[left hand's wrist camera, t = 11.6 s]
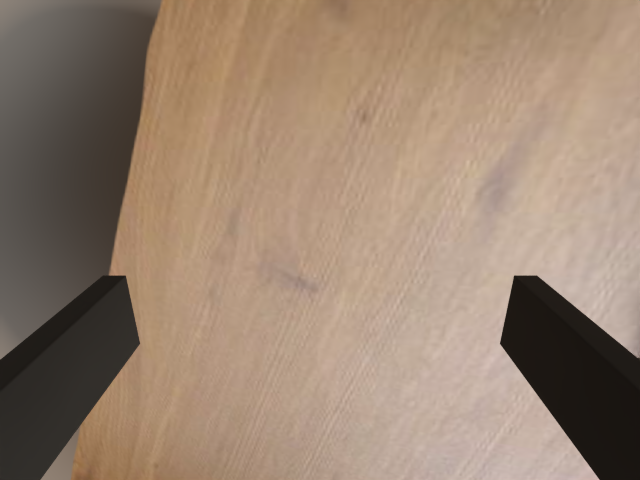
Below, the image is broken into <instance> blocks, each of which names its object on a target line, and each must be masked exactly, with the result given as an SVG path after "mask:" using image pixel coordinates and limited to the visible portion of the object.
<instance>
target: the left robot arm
mask: <svg viewBox="0 0 640 480" xmlns="http://www.w3.org/2000/svg"><path fill="white" fill-rule="evenodd" d="M139 344H140V341H139V337H138V332H137V327H136V322H135V318H134V313H133V308H132V303H131V298H130V294H129V289H128V284H127V279H126V276H102V277H101V278H100V279H98V280H97V281H96V282H95V283H94V284H92V285H91V286H90V287H89V288H87V289H86V290H85V291H84V292H83V293H81V294H80V295H79V296H78V297H76V298H75V299H74V300H73V301H72V302H70V303H69V304H68V305H67V306H66V307H64V308H63V309H62V310H61V311H59V312H58V313H57V314H56V315H55V316H53V317H52V318H51V319H50V320H48V321H47V322H46V323H45V324H44V325H42V326H41V327H40V328H39V329H37V330H36V331H35V332H34V333H33V334H31V335H30V336H29V337H28V338H26V339H25V340H24V341H23V342H22V343H20V344H19V345H18V346H17V347H15V348H14V349H13V350H12V351H11V352H9V353H8V354H7V355H6V356H5V357H3V358H2V359H1V360H0V480H40V479H41V478H42V477H43V475H44V474H45V473H46V471H47V470H48V469H49V467H50V466H51V464H52V463H53V462H54V460H55V459H56V458H57V456H58V455H59V454H60V452H61V451H62V449H63V448H64V447H65V445H66V444H67V443H68V441H69V440H70V438H71V437H72V436H73V434H74V433H75V432H76V430H77V429H78V428H79V426H80V425H81V423H82V422H83V421H84V419H85V418H86V417H87V415H88V414H89V413H90V411H91V410H92V408H93V407H94V406H95V404H96V403H97V402H98V400H99V399H100V398H101V396H102V395H103V393H104V392H105V391H106V389H107V388H108V387H109V385H110V384H111V383H112V381H113V380H114V378H115V377H116V376H117V374H118V373H119V372H120V370H121V369H122V368H123V366H124V365H125V363H126V362H127V361H128V359H129V358H130V357H131V355H132V354H133V353H134V351H135V350H136V348H137V347H138V346H139ZM500 344H501V346H502V347H503V348H504V350H505V351H506V353H507V354H508V355H509V357H510V358H511V359H512V361H513V362H514V363H515V365H516V366H517V368H518V369H519V370H520V372H521V373H522V374H523V376H524V377H525V378H526V380H527V381H528V383H529V384H530V385H531V387H532V388H533V389H534V391H535V392H536V393H537V395H538V396H539V398H540V399H541V400H542V402H543V403H544V404H545V406H546V407H547V408H548V410H549V411H550V413H551V414H552V415H553V417H554V418H555V419H556V421H557V422H558V423H559V425H560V426H561V428H562V429H563V430H564V432H565V433H566V434H567V436H568V437H569V439H570V440H571V441H572V443H573V444H574V445H575V447H576V448H577V449H578V451H579V452H580V454H581V455H582V456H583V458H584V459H585V460H586V462H587V463H588V464H589V466H590V467H591V469H592V470H593V471H594V473H595V474H596V475H597V477H598V478H599V479H600V480H640V358H637V357H636V356H634V355H633V354H632V353H631V352H629V351H628V350H627V349H626V348H625V347H623V346H622V345H621V344H620V343H618V342H617V341H616V340H615V339H614V338H612V337H611V336H610V335H609V334H607V333H606V332H605V331H604V330H603V329H601V328H600V327H599V326H598V325H597V324H595V323H594V322H593V321H592V320H590V319H589V318H588V317H587V316H586V315H584V314H583V313H582V312H581V311H579V310H578V309H577V308H576V307H575V306H573V305H572V304H571V303H570V302H568V301H567V300H566V299H565V298H564V297H562V296H561V295H560V294H559V293H557V292H556V291H555V290H554V289H553V288H551V287H550V286H549V285H548V284H546V283H545V282H544V281H543V280H542V279H540V278H539V277H538V276H514V279H513V284H512V289H511V294H510V298H509V303H508V308H507V313H506V318H505V322H504V327H503V332H502V337H501V341H500Z"/></svg>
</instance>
